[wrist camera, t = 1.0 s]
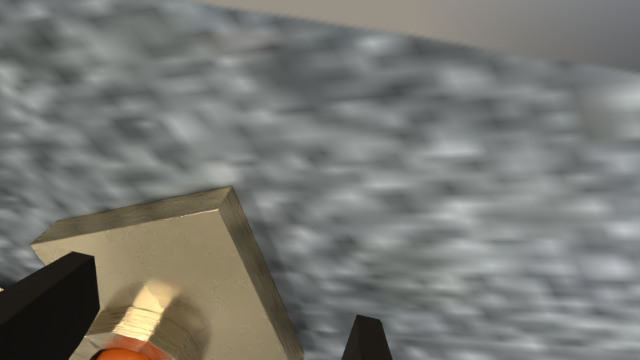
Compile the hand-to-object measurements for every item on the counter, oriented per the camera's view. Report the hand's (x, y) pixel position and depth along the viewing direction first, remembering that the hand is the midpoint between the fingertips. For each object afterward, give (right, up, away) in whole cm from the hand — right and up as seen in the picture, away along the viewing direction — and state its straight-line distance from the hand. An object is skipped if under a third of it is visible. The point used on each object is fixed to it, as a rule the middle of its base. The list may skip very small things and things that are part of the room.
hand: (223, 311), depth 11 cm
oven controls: (-5, -3, +14) cm, 15 cm away
